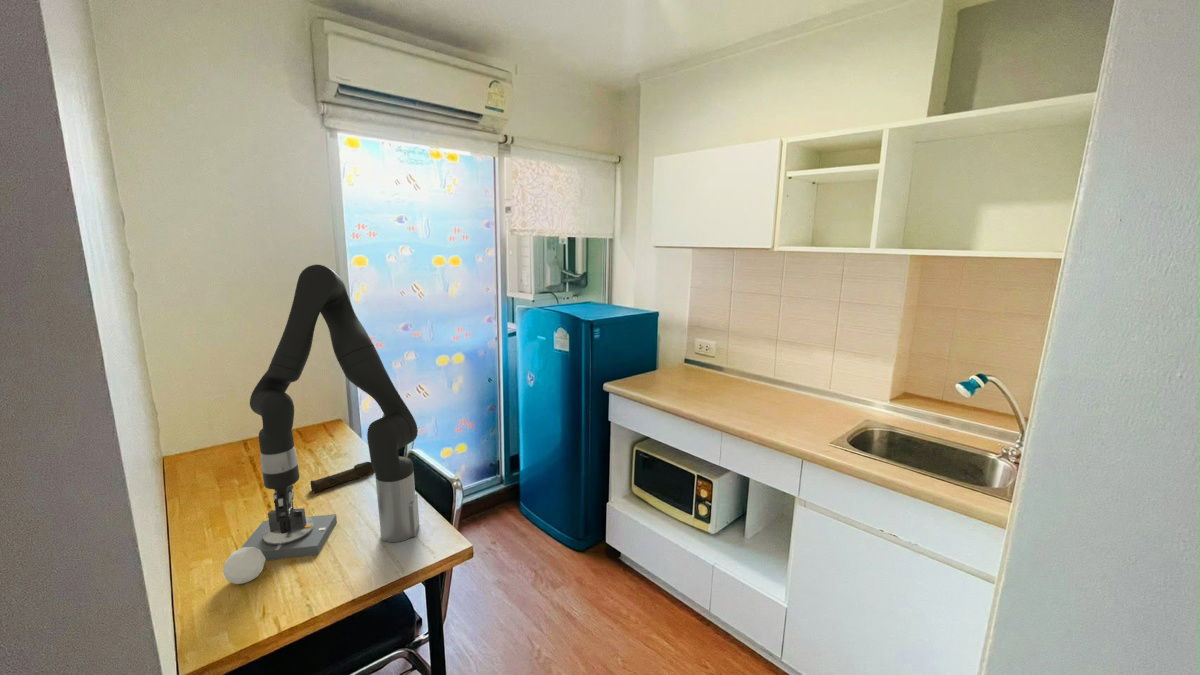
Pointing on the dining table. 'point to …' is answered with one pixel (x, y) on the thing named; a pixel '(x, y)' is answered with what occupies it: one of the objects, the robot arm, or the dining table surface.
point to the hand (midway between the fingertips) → (287, 523)
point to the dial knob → (298, 524)
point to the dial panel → (297, 548)
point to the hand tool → (342, 477)
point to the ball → (244, 565)
